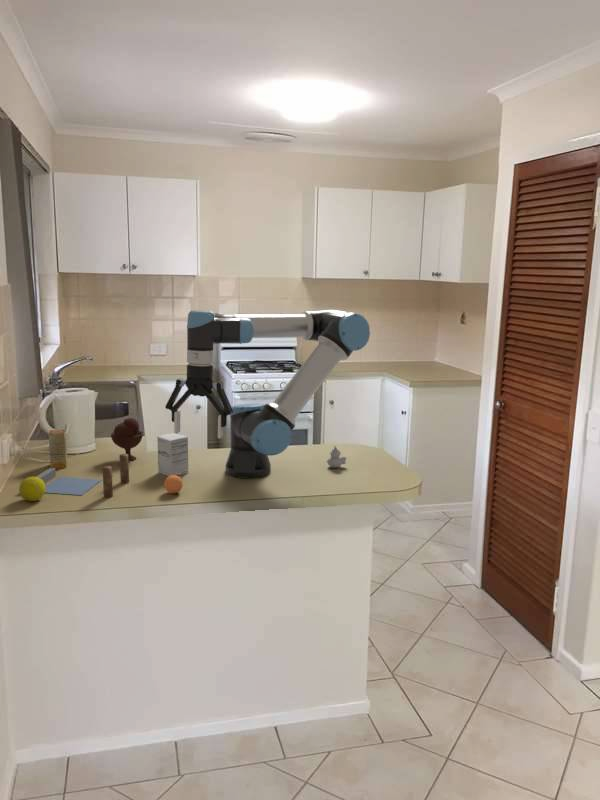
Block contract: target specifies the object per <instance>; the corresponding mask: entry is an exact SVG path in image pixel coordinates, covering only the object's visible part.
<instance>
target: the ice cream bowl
mask: <svg viewBox="0 0 600 800" xmlns="http://www.w3.org/2000/svg"><path fill="white" fill-rule="evenodd" d="M143 436H144V431H141V430H140V424H139V422H138V420H137V419H135V418H133V417H129V418H125V419H124V421H123V422H120V423H118V424H117V425H116V426H115V427H114V430H113V432H111V434H110V438H111V441H112V442H113V443H114V445H116V446H117V447H119V448H121V449H123V450H124V452H125V454H128V461H132V462H135V461H136V460H137V457H136V456H135V455H133V454H131V450H132V449H133V448H136V447H137V446H138V445H139V444H140V443H141V442H142V439H143ZM134 460H135V461H134Z"/></svg>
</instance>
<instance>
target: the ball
mask: <svg viewBox="0 0 600 800" xmlns="http://www.w3.org/2000/svg"><path fill="white" fill-rule="evenodd" d="M163 486H164V489H165V490H166V492H168V493H169V494H177V493H179V492H180V491H181V490H182V488H183V486H184V485H183V480H182V478H181V477H180V475H179V476H176V475H171V476H167V477H165V480H164V482H163Z"/></svg>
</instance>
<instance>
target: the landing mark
mask: <svg viewBox="0 0 600 800" xmlns="http://www.w3.org/2000/svg"><path fill="white" fill-rule="evenodd" d="M101 481H103V478H102V479H100V478H98V479H96V478H85V477H84V478H83V477H70V476H68V477H67V476H60V477H58V478H57V479H55V480H53V481H51V482H50V483H49V484H47V485H45V488H46V489H45V493H44V494H52V493H57V494H56V495H67V494H72V495H71V496H84V494H86V493H87V492H88V491H90V490H91V489H92V488H93V487H95V486H96V485H97V484H99V483H101ZM85 492H86V493H85Z"/></svg>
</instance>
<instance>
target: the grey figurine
mask: <svg viewBox="0 0 600 800" xmlns="http://www.w3.org/2000/svg"><path fill="white" fill-rule="evenodd" d="M341 454H342V453H341V451H340V450H339V449H338V448H337V447H336V445H334V446H333V448H331V451H330V452H329V455H330V457H328V458H327V460H326V463H327V464H328V466H329V467H330V468H332V469H338V468H340V467H342V465H345V464H346V463H347V462H346V460H347V457H346V456H344V455H343V456H341Z"/></svg>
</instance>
